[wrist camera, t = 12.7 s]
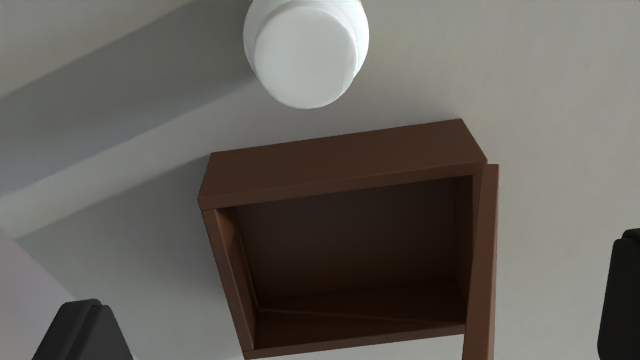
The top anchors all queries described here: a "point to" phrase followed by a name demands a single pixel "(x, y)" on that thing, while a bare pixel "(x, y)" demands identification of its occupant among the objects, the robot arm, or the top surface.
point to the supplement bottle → (305, 48)
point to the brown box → (345, 237)
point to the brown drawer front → (483, 272)
